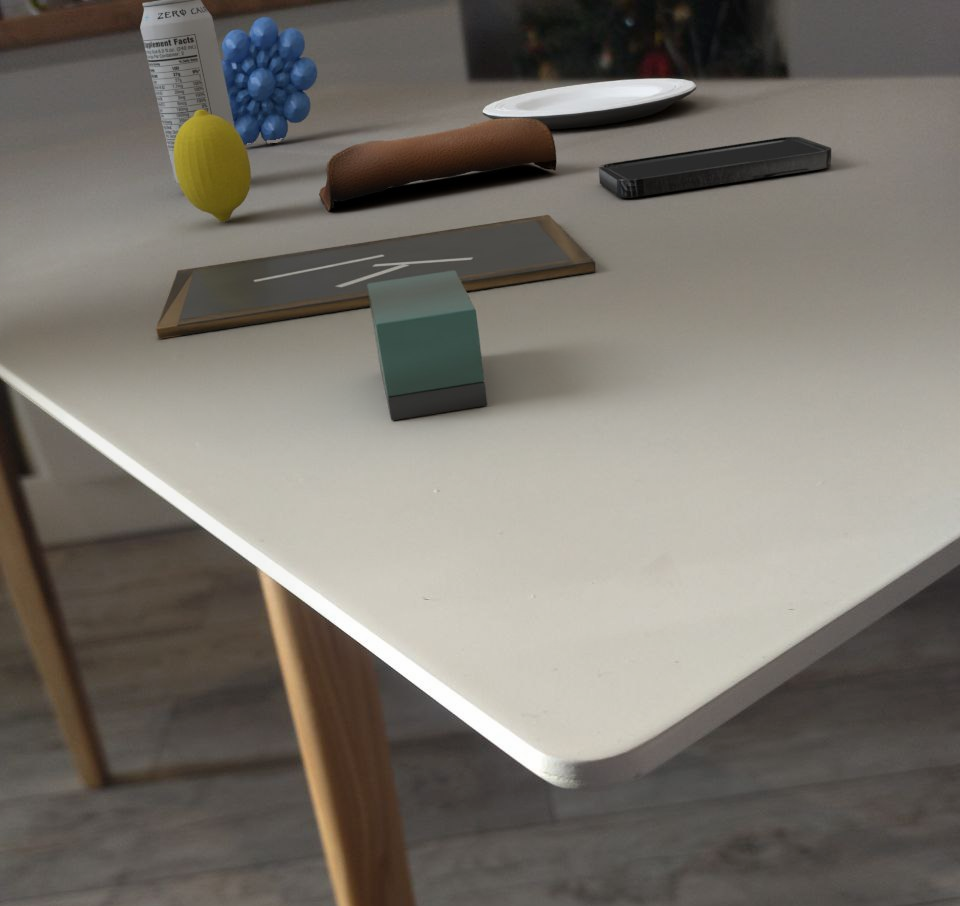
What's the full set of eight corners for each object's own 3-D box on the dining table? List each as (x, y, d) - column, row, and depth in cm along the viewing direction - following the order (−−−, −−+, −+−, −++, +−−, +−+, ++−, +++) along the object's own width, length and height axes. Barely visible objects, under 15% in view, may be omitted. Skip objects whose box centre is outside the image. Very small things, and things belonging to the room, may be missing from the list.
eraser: (487, 405, 50) (475, 308, 48) (391, 421, 50) (375, 324, 48) (466, 357, 56) (455, 269, 54) (380, 371, 56) (366, 283, 54)
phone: (595, 165, 89) (795, 134, 89) (596, 181, 89) (795, 151, 90) (620, 182, 82) (837, 149, 83) (621, 199, 82) (836, 166, 83)
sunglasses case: (525, 153, 101) (531, 81, 95) (553, 210, 98) (561, 138, 92) (312, 191, 98) (305, 118, 92) (333, 251, 94) (327, 179, 89)
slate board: (158, 339, 65) (155, 328, 65) (179, 279, 78) (177, 270, 77) (596, 272, 67) (595, 260, 67) (549, 224, 79) (548, 214, 79)
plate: (440, 136, 120) (438, 115, 119) (569, 99, 133) (568, 80, 132) (613, 136, 107) (612, 113, 106) (738, 95, 120) (737, 74, 119)
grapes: (329, 131, 133) (308, 9, 128) (328, 139, 128) (306, 11, 122) (223, 146, 133) (198, 24, 127) (217, 155, 127) (190, 27, 121)
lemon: (262, 221, 92) (239, 107, 88) (188, 234, 91) (162, 118, 87) (258, 209, 96) (236, 100, 92) (188, 221, 96) (162, 111, 92)
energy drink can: (259, 180, 109) (222, -8, 102) (217, 195, 105) (175, -1, 97) (207, 181, 112) (167, -2, 105) (164, 196, 108) (119, 6, 100)
